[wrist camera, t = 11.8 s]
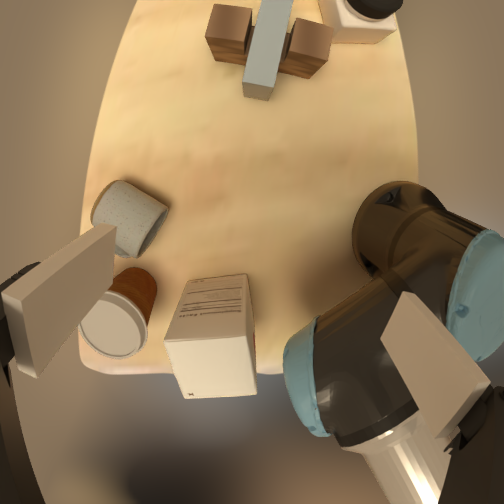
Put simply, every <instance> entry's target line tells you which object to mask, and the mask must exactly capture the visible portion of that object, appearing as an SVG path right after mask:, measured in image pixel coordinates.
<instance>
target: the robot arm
mask: <svg viewBox="0 0 504 504" xmlns="http://www.w3.org/2000/svg"><path fill="white" fill-rule="evenodd" d="M116 231H117V226H114V225H110V224H105V223H100V224H98V225H97V226H95V227H94V228H92V229H90V230H89V231H87V232H86V233H84V234H83V235H81V236H80V237H78V238H76V239H75V240H73V241H72V242H71V243H69V244H68V245H66V246H65V247H63V248H61V249H60V250H58V251H57V252H56V253H54V254H53V255H52V256H50V257H48V258H47V259H46V260H44V261H43V262H36V263H33V264H30V265H28V266H26V267H24V268H23V269H21V270H20V271H19V272H18V274H17V273H16V274H14V275H13V276H12V277H11V279H10V278H9V279H8V280H6V281H5V282H4V283H2V284H1V285H0V504H45V501H44V499H43V496H42V494H41V491H40V488H39V486H38V483H37V480H36V477H35V474H34V471H33V468H32V465H31V462H30V459H29V456H28V452H27V449H26V445H25V442H24V438H23V434H22V430H21V426H20V421H19V416H18V412H17V407H16V402H15V396H14V390H13V383H12V377H11V370H10V367H9V364H8V363H9V362H10V360H11V359H12V358H13V357H14V356H15V359H16V362H17V366H18V369H19V370H21V371H23V372H24V373H26V374H28V375H31V376H33V377H35V378H38V377H39V376H40V374H41V373H42V372H43V370H44V369H45V368H46V366H47V365H48V363H49V362H50V361H51V360H52V358H53V357H54V356H55V354H56V353H57V352H58V350H59V349H60V347H61V346H62V345H63V344H64V342H65V341H66V340H67V339H68V337H69V336H70V335H71V334H72V332H73V331H74V330H75V328H76V327H77V326H78V325H79V323H80V322H81V321H82V320H83V319H84V317H85V316H86V315H87V314H88V312H89V311H90V310H91V309H92V308H93V306H94V305H95V304H96V303H97V302H98V300H99V299H100V298H101V297H102V296H103V294H104V293H105V292H106V291H107V290H108V289H109V287H110V286H111V285H112V284H113V269H114V254H115V242H116ZM352 244H353V249H354V253H355V256H356V258H357V260H358V262H359V263H360V265H361V266H362V267H363V269H364V270H365V271H366V272H367V273H368V274H369V275H370V276H371V277H372V278H373V279H374V280H373V281H371V282H370V283H369V284H367V285H366V286H364V287H363V288H362V289H360V290H359V291H358V292H356V293H355V294H353V295H352V296H350V297H349V298H347V299H346V300H345V301H343V302H342V303H340V304H339V305H337V306H336V307H334V308H333V309H331V310H330V311H328V312H326V313H325V314H323V315H322V316H319V315H318V316H317V317H315V318H314V319H313V321H312V322H311V323H310V324H308V325H307V326H306V327H304V328H303V329H301V330H300V331H299V332H297V333H296V334H294V335H293V336H292V337H291V338H290V339H289V340H288V342H287V344H286V346H285V348H284V353H283V372H284V377H285V383H286V386H287V390H288V393H289V396H290V399H291V402H292V404H293V406H294V409H295V410H296V412H297V415H298V416H299V418H300V420H301V421H302V423H303V424H304V425H305V426H308V429H309V431H310V432H311V433H312V434H313V435H315V436H318V437H323V436H325V437H328V436H330V435H332V434H333V435H334V436H335V438H336V440H337V441H338V443H339V445H340V446H341V448H342V449H343V450H348V451H353V452H358V453H360V454H362V455H363V456H364V458H365V460H366V462H367V463H368V465H369V467H370V469H371V470H372V472H373V474H374V476H375V477H376V479H377V481H378V483H379V485H380V486H381V488H382V490H383V492H384V493H385V495H386V497H387V499H388V500H389V502H390V504H504V387H501V386H497V387H495V388H494V389H493V387H492V386H491V385H490V380H489V379H488V378H487V377H486V375H485V374H484V373H483V371H482V370H481V369H480V368H479V366H478V365H477V364H476V363H475V361H482V360H483V359H485V358H487V357H488V356H489V355H491V354H492V353H493V352H494V351H495V350H496V349H497V348H498V347H499V346H500V345H501V344H502V343H503V341H504V238H502V237H501V236H500V235H499V234H498V233H497V232H495V231H493V230H491V229H490V230H489V229H487V228H485V227H483V226H481V225H478V224H476V223H474V222H472V221H470V220H468V219H465V218H463V217H461V216H458V215H456V214H454V213H452V212H450V211H447V210H446V208H445V207H444V206H443V205H442V203H441V202H440V201H439V199H438V198H437V197H436V196H435V195H434V194H433V193H432V192H431V191H430V190H428V189H426V188H425V187H423V186H420V185H418V184H415V183H412V182H408V181H396V182H391V183H388V184H385V185H383V186H381V187H379V188H378V189H376V190H375V191H374V192H373V193H371V194H370V195H369V196H368V198H367V199H366V200H365V201H364V202H363V204H362V205H361V207H360V209H359V211H358V213H357V215H356V218H355V221H354V225H353V231H352ZM456 426H458V427H459V428H460V430H461V431H460V432H459V433H458V434H457V436H456V437H455V438H454V439H453V440H452V441H451V440H450V437H449V435H450V434H451V432H452V431H453V430H454V429H455V428H456Z"/></svg>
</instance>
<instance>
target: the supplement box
mask: <svg viewBox="0 0 504 504" xmlns="http://www.w3.org/2000/svg"><path fill="white" fill-rule="evenodd" d="M163 343H164V346H165V349H166V351H167V354H168V357H169V360H170V362H171V365H172V368H173V372H174V375H175V377H176V378H177V381H178V384H179V386H180V389H181V391H182V394H183V396H184V398H185V399H191V398H211V397H232V396H246V395H254V394H257V377H256V351H255V325H254V317H253V310H252V304H251V297H250V290H249V284H248V278H247V274H241V275H233V276H225V277H217V278H209V279H201V280H192V281H187V284H186V286H185V288H184V291H183V293H182V296H181V298H180V301H179V303H178V306H177V308H176V311H175V313H174V316H173V318H172V321H171V323H170V326H169V328H168V331H167V333H166V336H165V338H164V341H163Z"/></svg>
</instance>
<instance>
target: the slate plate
mask: <svg viewBox="0 0 504 504" xmlns="http://www.w3.org/2000/svg"><path fill="white" fill-rule="evenodd" d="M292 4H293V0H262V2H261V6H260V9H259V13H258V17H257V21H256V25H255V29H254V33H253V37H252V42H251V46H250V50H249V54H248V58H247V63H246V67H245V71H244V76H243V80H242V84H243V93H244V97H250V98H255V99H260V100H265V101H268V99H269V97H270V95H271V93H272V90H273V88H274V85H275V80H276V75H277V71H278V66H279V62H280V57H281V53H282V48H283V44H284V39H285V35H286V30H287V26H288V21H289V17H290V13H291V8H292Z"/></svg>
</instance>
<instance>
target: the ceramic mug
mask: <svg viewBox="0 0 504 504" xmlns="http://www.w3.org/2000/svg"><path fill="white" fill-rule="evenodd" d="M167 214H168V207H167V206H165V205H164V204H162V203H160V202H159V201H157V200H155V199H154V198H152V197H151V196H149V195H147V194H146V193H144V192H142V191H140V190H139V189H137V188H136V187H134V186H133V185H131V184H129V183H127V182H124V181H122V180H116V181H113V182H111V183H110V184H108V185H107V186H106V187H105V188H104V189H103V191H102V192H101V193H100V195H99V196H98V198H97V200H96V201H95V203H94V206H93V208H92V211H91V223H92V225H93V226H94V227H95V226H97V225H98V224H100V223H105V224H110V225H114V226H117V231H116V242H115V254H116V255H118V256H120V257H123V258H129V257H134V258H136V259H137V258H139V257H140V256H141V255H142V254H143V253H144V252H145V250H146V249H147V248H148V246H149V245H150V244H151V242H152V240H153V239H154V237H155V236H156V234H157V232H158V231H159V229H160V228H161V226H162V224H163V222H164V220H165V218H166V216H167Z"/></svg>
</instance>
